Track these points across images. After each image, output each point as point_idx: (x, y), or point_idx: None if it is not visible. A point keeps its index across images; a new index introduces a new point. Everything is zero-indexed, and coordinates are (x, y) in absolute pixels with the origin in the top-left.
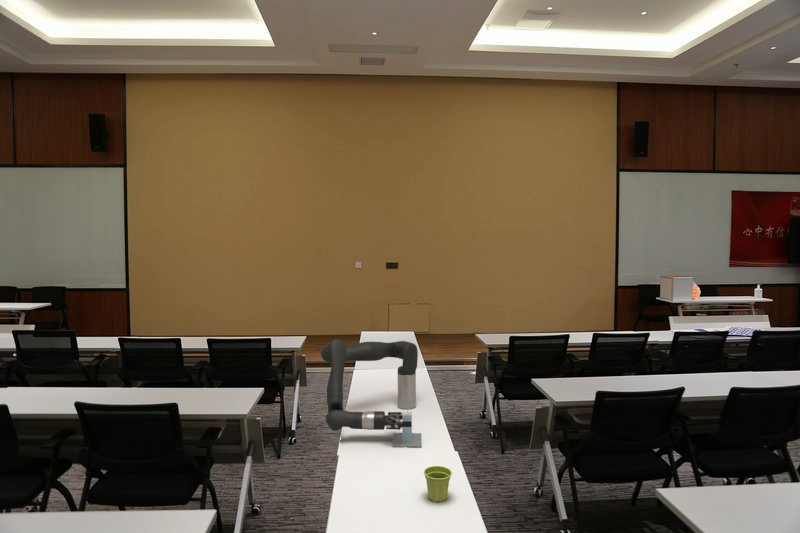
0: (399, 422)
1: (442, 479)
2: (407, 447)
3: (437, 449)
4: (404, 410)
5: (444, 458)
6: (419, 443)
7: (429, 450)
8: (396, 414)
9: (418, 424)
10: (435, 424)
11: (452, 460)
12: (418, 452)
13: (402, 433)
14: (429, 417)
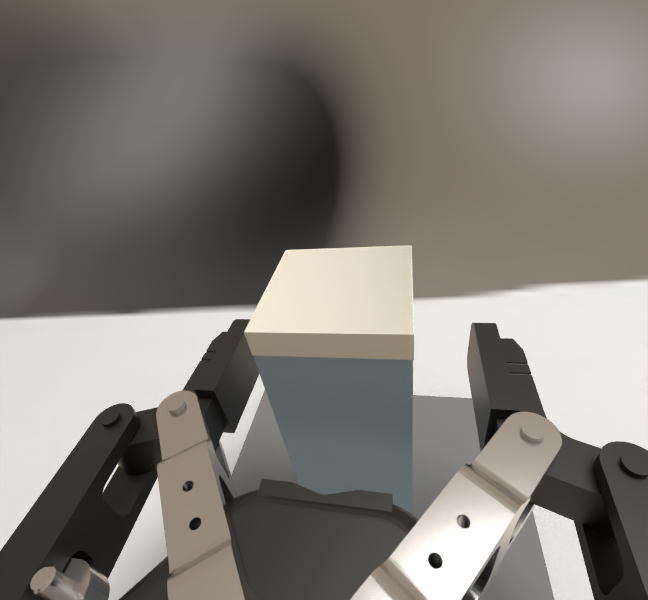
0: (553, 461)
1: None
2: (531, 516)
3: (509, 331)
4: (272, 308)
5: (636, 310)
6: (451, 410)
7: (538, 367)
8: (208, 475)
9: (98, 397)
10: (157, 323)
11: (645, 285)
12: (606, 435)
13: (411, 512)
14: (49, 341)
